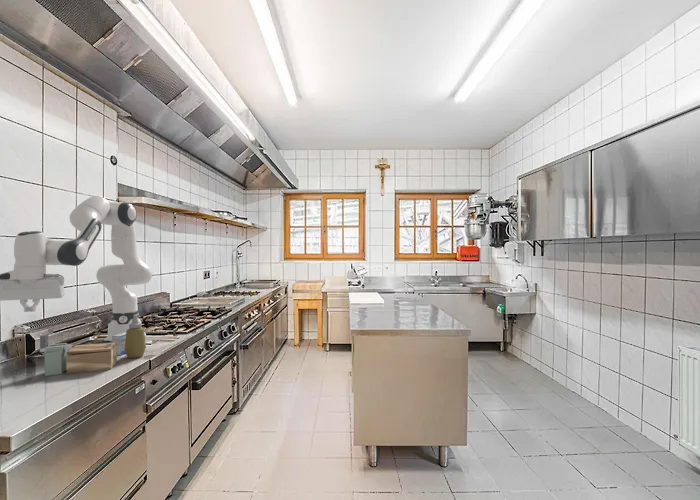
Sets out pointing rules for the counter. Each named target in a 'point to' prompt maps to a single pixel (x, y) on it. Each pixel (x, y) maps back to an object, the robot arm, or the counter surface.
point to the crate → (91, 361)
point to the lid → (92, 348)
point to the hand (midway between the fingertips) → (30, 311)
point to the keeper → (55, 359)
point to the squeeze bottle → (135, 339)
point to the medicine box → (120, 343)
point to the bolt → (45, 344)
